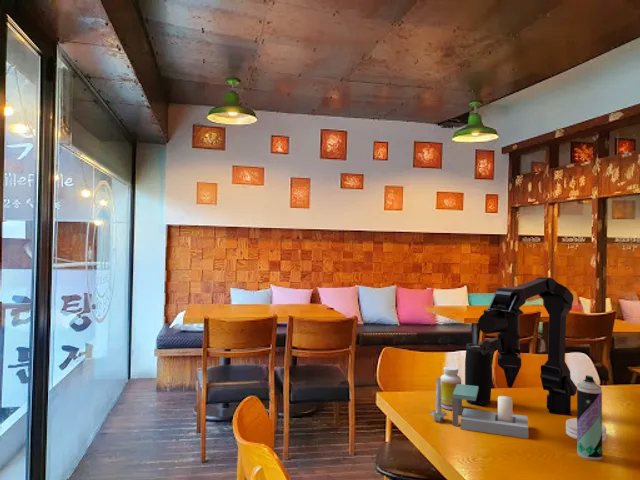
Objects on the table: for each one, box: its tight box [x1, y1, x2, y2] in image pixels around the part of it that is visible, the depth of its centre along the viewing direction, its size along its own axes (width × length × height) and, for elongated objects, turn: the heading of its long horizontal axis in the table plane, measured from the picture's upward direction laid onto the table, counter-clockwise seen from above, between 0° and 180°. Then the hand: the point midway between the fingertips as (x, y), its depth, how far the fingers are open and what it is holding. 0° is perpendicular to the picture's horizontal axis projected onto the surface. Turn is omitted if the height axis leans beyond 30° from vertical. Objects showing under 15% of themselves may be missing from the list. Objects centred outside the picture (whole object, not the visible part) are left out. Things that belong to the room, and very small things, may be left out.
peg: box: [497, 395, 514, 423], centre depth 138 cm, size 4×4×9 cm
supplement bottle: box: [440, 366, 462, 411], centre depth 157 cm, size 7×7×13 cm
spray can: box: [576, 374, 603, 461], centre depth 120 cm, size 6×6×20 cm
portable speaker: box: [464, 342, 492, 407], centre depth 163 cm, size 9×9×20 cm
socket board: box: [460, 407, 529, 439], centre depth 139 cm, size 18×10×3 cm, turn 68°
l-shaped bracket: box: [452, 383, 478, 427], centre depth 145 cm, size 6×12×9 cm, turn 158°
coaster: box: [565, 417, 607, 443], centre depth 134 cm, size 10×10×4 cm
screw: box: [429, 376, 448, 423], centre depth 145 cm, size 13×5×5 cm
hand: (509, 383), depth 141 cm, fingers open, 9 cm apart
